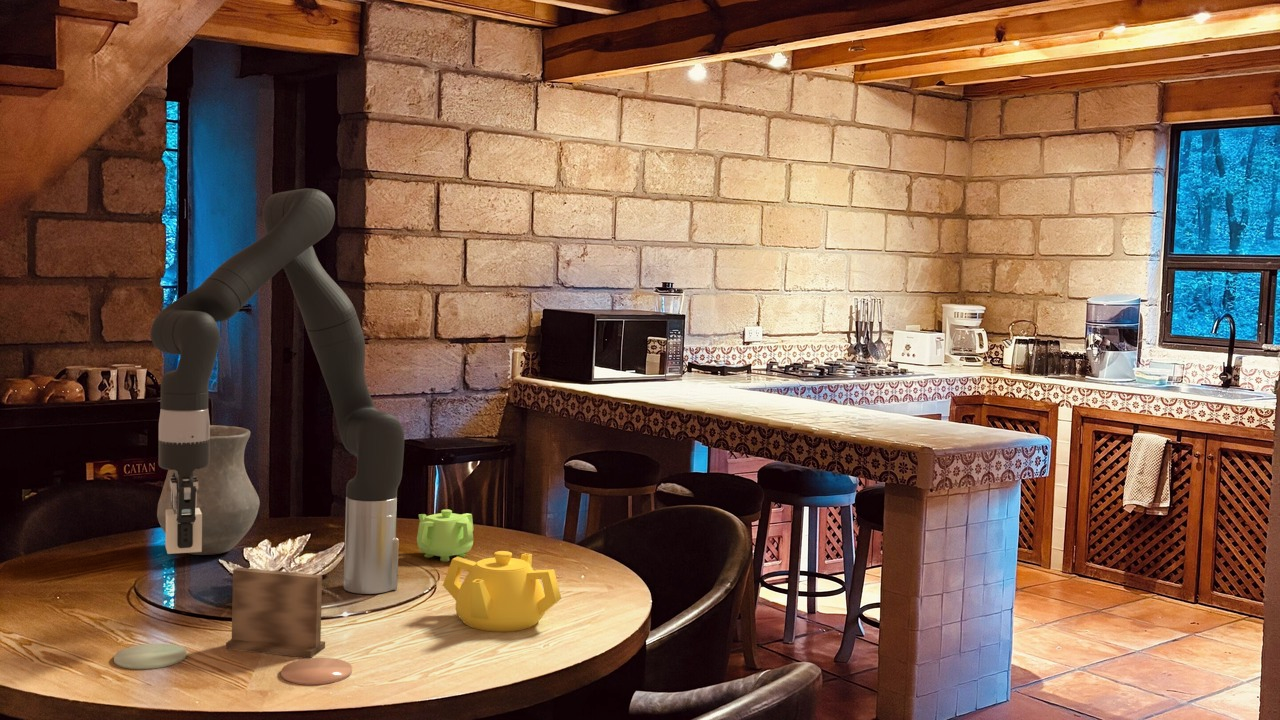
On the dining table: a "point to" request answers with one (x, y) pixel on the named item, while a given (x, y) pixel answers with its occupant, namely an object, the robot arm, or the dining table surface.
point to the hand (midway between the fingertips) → (183, 542)
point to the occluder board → (276, 612)
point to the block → (172, 532)
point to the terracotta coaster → (316, 671)
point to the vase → (220, 492)
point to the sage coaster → (150, 656)
